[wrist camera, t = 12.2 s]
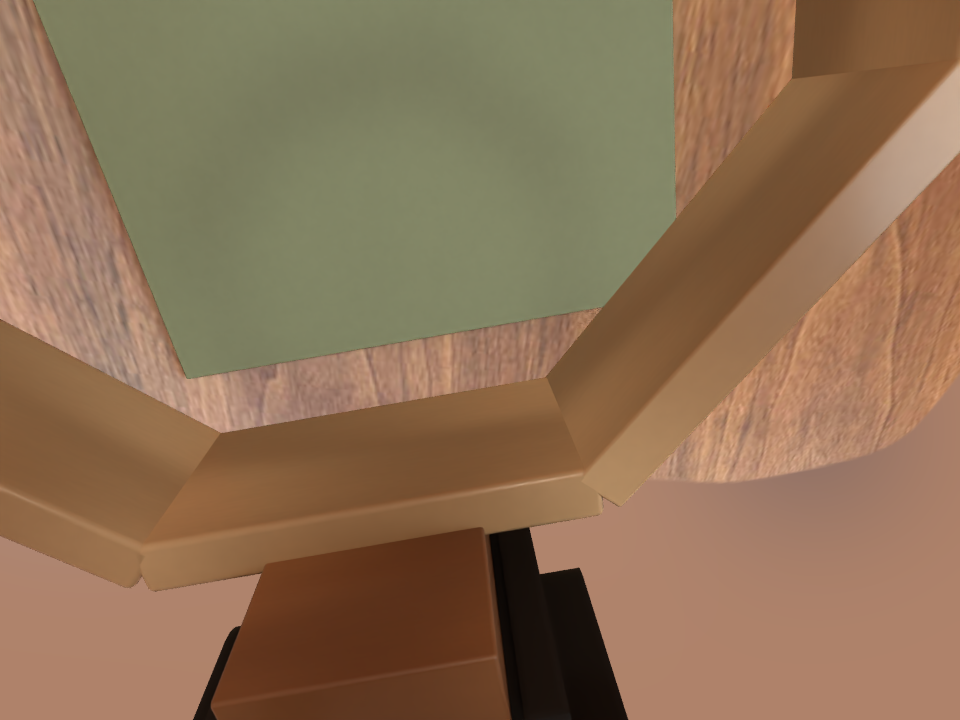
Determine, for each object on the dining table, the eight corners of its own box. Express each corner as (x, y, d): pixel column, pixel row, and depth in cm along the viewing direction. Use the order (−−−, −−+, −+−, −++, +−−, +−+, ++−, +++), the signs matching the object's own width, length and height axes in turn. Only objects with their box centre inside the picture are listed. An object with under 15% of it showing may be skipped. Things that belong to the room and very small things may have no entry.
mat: (189, 376, 27) (186, 379, 27) (-83, -299, 18) (-93, -307, 18) (674, 292, 28) (677, 294, 27) (661, -423, 18) (666, -434, 18)
